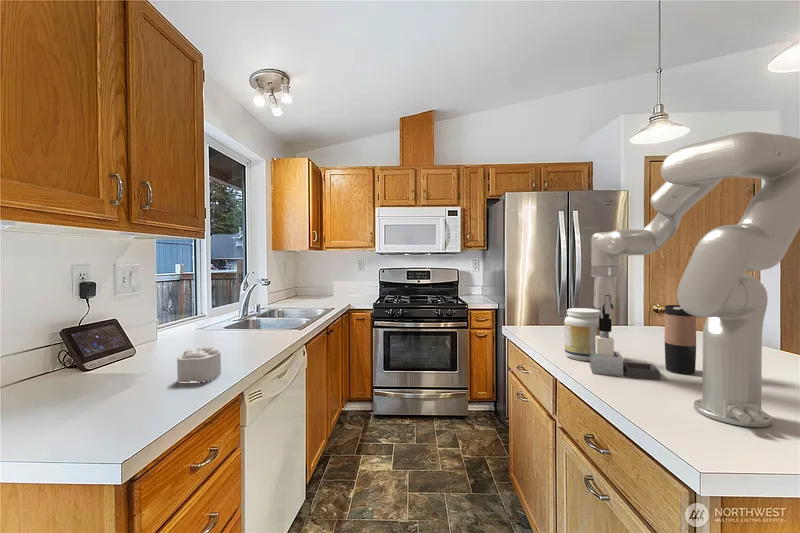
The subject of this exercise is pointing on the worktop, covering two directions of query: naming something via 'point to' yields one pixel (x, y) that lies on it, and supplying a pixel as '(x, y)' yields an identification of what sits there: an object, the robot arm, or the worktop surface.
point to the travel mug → (680, 340)
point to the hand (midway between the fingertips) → (605, 331)
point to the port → (606, 364)
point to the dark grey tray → (641, 370)
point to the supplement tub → (581, 332)
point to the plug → (604, 344)
